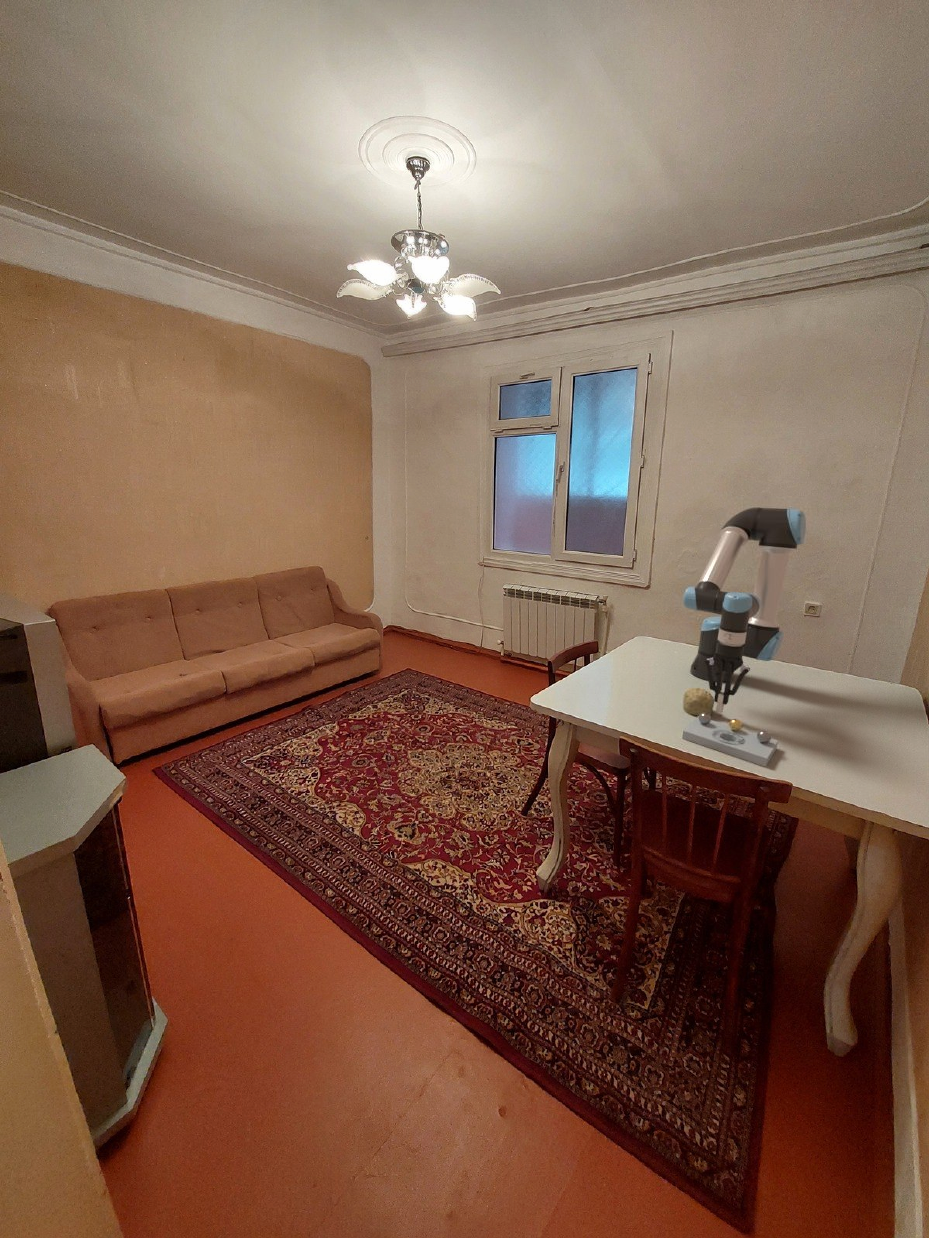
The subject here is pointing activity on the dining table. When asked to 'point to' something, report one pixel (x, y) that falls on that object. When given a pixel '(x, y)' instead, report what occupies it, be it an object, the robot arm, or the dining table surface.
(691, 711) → the decorative object
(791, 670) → the dining table surface
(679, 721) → the dining table surface
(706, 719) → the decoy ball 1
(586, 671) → the dining table surface
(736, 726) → the brass ball
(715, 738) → the grey flat block
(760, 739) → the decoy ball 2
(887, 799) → the dining table surface
